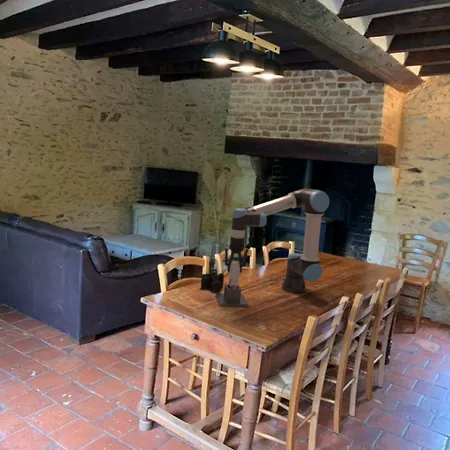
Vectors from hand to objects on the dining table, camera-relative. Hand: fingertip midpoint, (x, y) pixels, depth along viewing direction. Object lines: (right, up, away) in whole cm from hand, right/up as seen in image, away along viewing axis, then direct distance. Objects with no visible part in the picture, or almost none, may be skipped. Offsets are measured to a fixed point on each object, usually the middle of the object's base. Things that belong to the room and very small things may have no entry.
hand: (233, 277), depth 232 cm
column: (-1, -12, +2) cm, 12 cm away
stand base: (-1, -13, +2) cm, 14 cm away
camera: (-12, -10, +19) cm, 25 cm away
